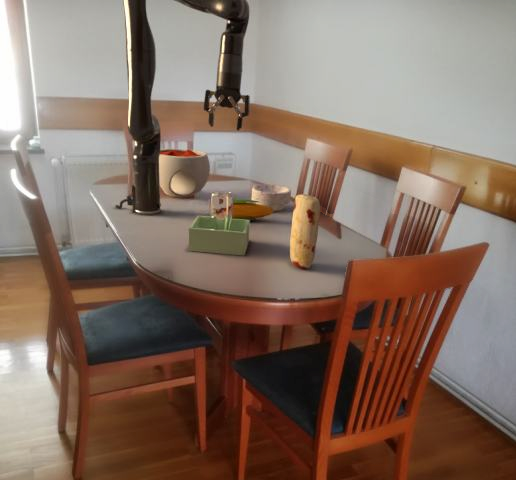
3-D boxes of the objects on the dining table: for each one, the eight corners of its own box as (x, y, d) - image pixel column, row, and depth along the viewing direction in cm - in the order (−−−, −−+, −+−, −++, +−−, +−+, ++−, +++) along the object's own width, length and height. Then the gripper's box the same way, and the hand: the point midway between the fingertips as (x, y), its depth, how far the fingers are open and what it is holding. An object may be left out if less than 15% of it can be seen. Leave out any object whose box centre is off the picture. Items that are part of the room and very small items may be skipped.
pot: (220, 196, 220) (222, 151, 212) (184, 205, 202) (184, 157, 194) (176, 186, 231) (176, 144, 223) (138, 194, 213) (136, 148, 204)
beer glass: (235, 241, 162) (237, 192, 155) (226, 247, 157) (228, 197, 150) (214, 238, 164) (215, 189, 157) (205, 244, 158) (206, 194, 151)
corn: (217, 195, 186) (271, 196, 191) (216, 216, 190) (270, 216, 195) (220, 202, 180) (276, 202, 184) (219, 223, 184) (274, 223, 189)
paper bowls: (262, 214, 197) (263, 193, 194) (244, 205, 209) (245, 184, 205) (296, 212, 204) (298, 191, 200) (277, 203, 216) (279, 183, 212)
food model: (282, 261, 151) (288, 191, 142) (302, 259, 154) (309, 190, 145) (299, 273, 144) (307, 199, 134) (320, 270, 147) (329, 198, 137)
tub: (188, 250, 155) (188, 228, 151) (197, 236, 167) (197, 215, 164) (244, 255, 154) (245, 232, 151) (248, 241, 167) (249, 220, 164)
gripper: (204, 68, 157) (200, 126, 164) (251, 74, 156) (245, 132, 163) (209, 69, 163) (205, 124, 170) (254, 74, 163) (248, 130, 170)
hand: (225, 128), depth 167 cm, fingers open, 8 cm apart
